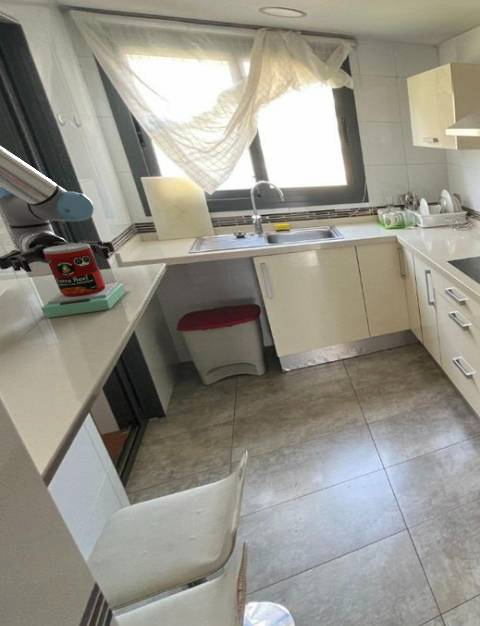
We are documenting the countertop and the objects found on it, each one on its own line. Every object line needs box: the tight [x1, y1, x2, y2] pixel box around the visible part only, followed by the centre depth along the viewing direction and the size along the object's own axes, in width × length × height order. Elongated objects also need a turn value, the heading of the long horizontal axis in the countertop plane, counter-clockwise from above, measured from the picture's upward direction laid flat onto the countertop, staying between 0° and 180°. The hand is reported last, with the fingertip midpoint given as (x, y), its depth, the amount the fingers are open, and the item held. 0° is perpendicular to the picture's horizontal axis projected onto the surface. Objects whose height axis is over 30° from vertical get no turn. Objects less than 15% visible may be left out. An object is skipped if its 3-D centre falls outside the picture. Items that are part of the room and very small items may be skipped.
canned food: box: [43, 242, 106, 297], centre depth 108 cm, size 8×8×11 cm
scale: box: [41, 282, 126, 319], centre depth 110 cm, size 11×14×3 cm
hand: (68, 259), depth 109 cm, fingers open, 13 cm apart
